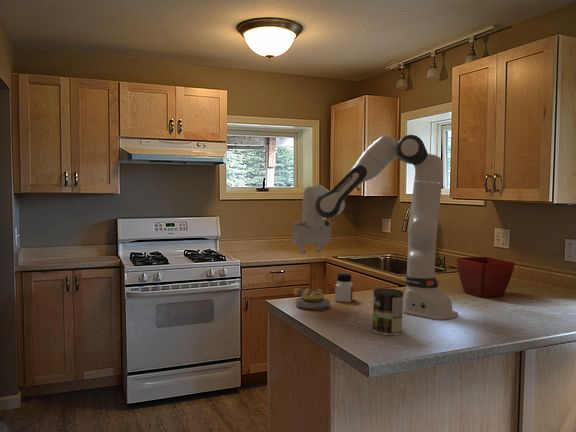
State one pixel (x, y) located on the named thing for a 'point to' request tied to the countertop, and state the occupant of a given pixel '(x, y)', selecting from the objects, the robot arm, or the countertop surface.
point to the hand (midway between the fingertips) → (310, 253)
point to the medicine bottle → (343, 288)
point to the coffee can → (387, 311)
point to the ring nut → (310, 294)
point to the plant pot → (484, 275)
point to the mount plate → (312, 304)
